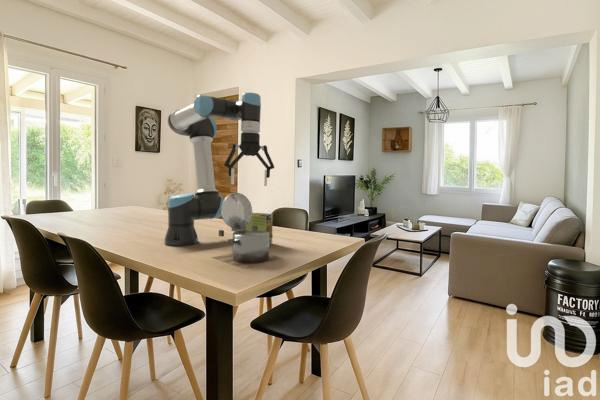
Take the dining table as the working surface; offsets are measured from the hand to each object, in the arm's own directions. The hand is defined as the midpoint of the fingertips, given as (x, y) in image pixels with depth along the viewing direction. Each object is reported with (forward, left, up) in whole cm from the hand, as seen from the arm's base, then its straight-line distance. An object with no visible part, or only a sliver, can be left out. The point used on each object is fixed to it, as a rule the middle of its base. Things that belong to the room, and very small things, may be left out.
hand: (249, 185), depth 136 cm
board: (+7, -6, -29) cm, 31 cm away
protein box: (-10, +11, -30) cm, 33 cm away
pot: (+9, -6, -28) cm, 30 cm away
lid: (0, -6, -10) cm, 12 cm away
